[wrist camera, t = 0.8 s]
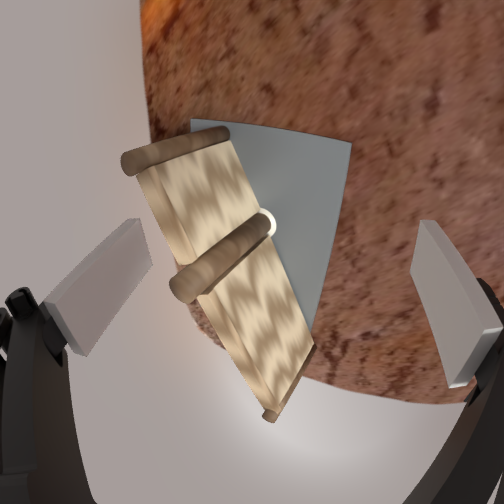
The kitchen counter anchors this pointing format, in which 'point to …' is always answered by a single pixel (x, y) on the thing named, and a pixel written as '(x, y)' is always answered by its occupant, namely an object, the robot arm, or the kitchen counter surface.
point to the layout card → (294, 197)
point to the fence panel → (261, 325)
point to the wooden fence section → (199, 204)
